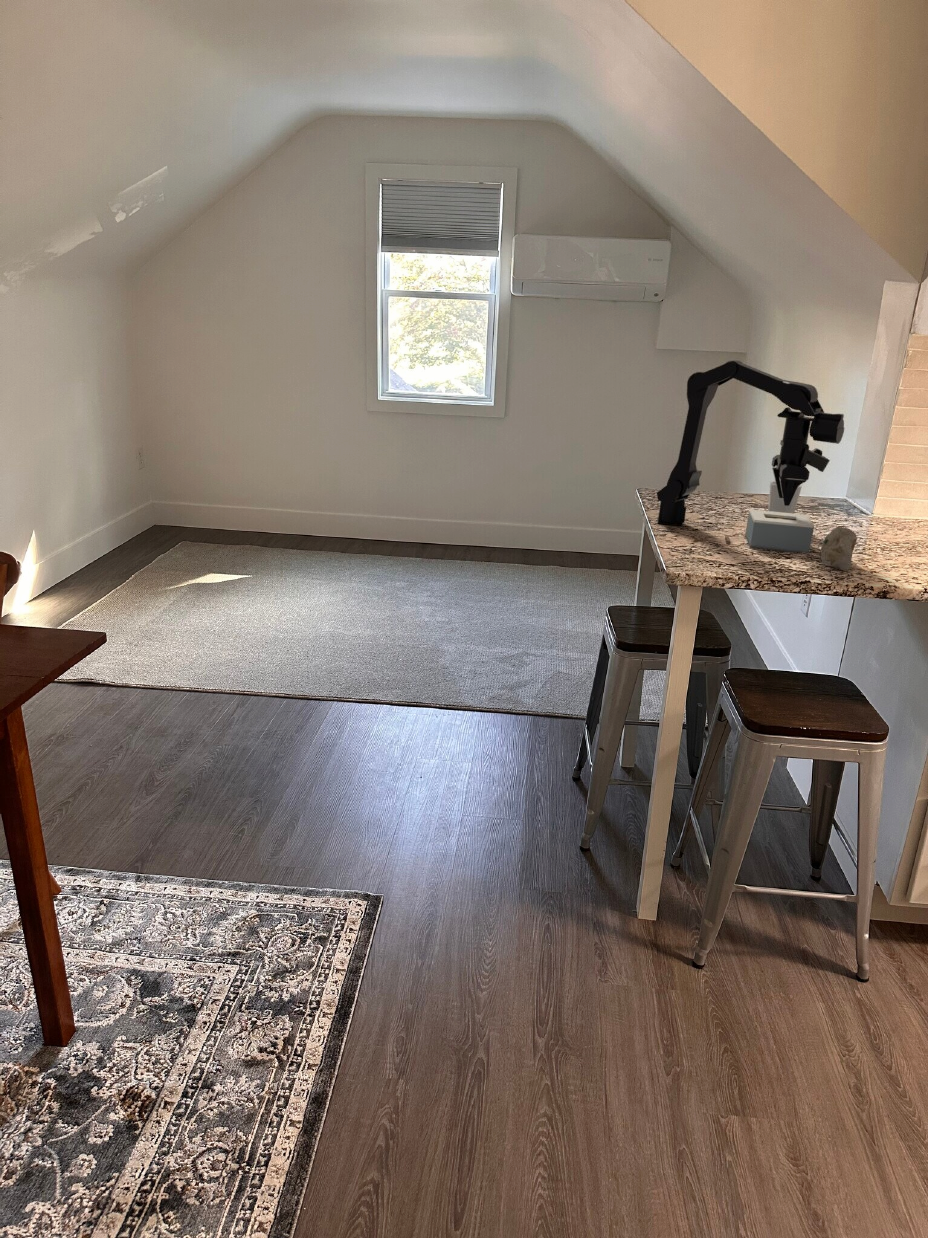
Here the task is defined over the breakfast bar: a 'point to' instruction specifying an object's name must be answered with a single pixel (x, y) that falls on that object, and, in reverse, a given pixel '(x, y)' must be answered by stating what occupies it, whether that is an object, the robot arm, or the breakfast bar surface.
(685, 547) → the breakfast bar surface
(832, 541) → the rock
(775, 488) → the cup
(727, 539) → the coin stand
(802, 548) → the box
